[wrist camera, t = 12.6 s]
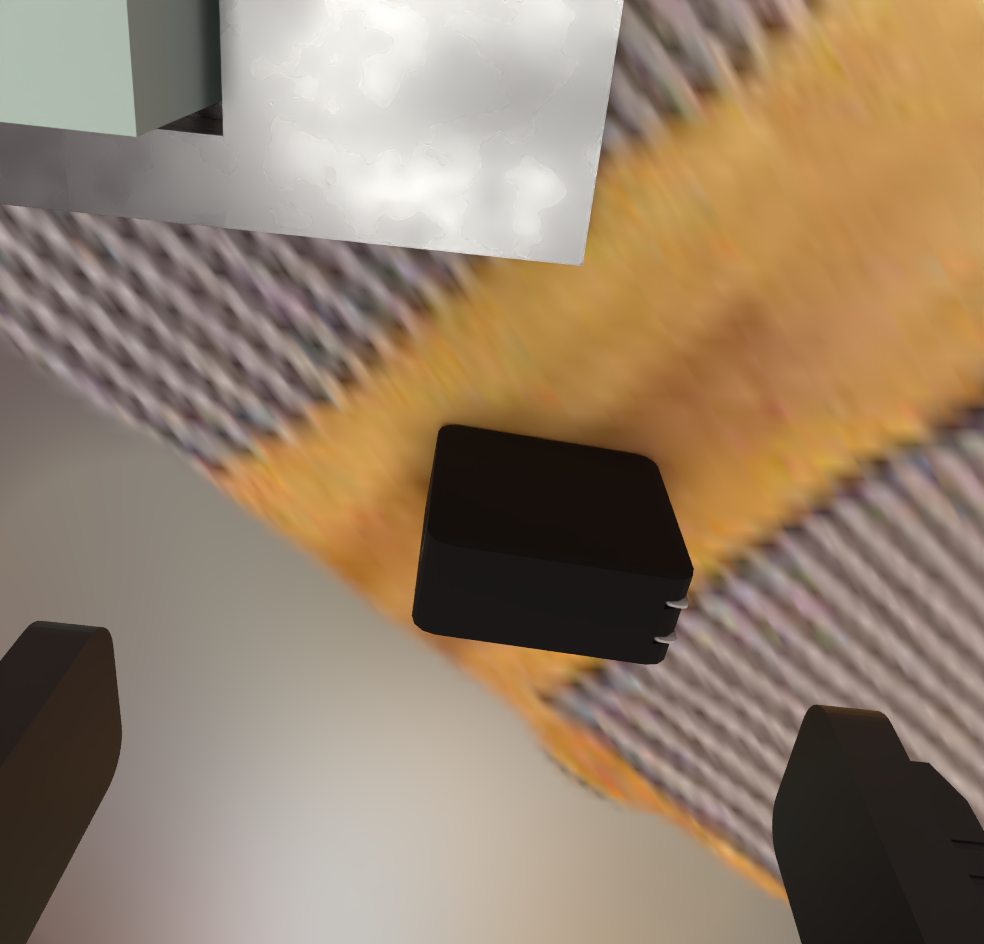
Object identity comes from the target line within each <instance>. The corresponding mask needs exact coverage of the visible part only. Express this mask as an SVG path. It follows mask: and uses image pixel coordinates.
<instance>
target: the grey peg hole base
mask: <svg viewBox="0 0 984 944" xmlns="http://www.w3.org/2000/svg"><path fill="white" fill-rule="evenodd" d="M623 3H624V0H219V11H220V44H221V77H222V110H223V120H215V119H206V118H197V117H188V116H185V117H183V118H180V119H178V120H175V121H173V122H171V123H168V124H166V125H164V126H161V127H159V128H156V129H154V130H152V131H149V132H147V133H145V134H142V135H140V136H138V137H133V136H124V135H115V134H106V133H97V132H88V131H79V130H70V129H61V128H52V127H43V126H34V125H25V124H15V123H6V122H0V204H5V205H14V206H24V207H33V208H42V209H52V210H61V211H71V212H80V213H89V214H99V215H108V216H118V217H127V218H136V219H146V220H155V221H165V222H174V223H183V224H193V225H202V226H212V227H221V228H231V229H240V230H249V231H259V232H268V233H278V234H287V235H296V236H306V237H315V238H325V239H334V240H343V241H353V242H362V243H372V244H381V245H390V246H400V247H409V248H419V249H428V250H437V251H447V252H456V253H466V254H475V255H484V256H494V257H503V258H513V259H522V260H531V261H541V262H550V263H560V264H569V265H579V266H582V265H583V259H584V253H585V246H586V240H587V233H588V227H589V221H590V214H591V208H592V201H593V195H594V189H595V182H596V176H597V169H598V163H599V156H600V150H601V144H602V137H603V131H604V124H605V118H606V112H607V105H608V99H609V92H610V86H611V80H612V73H613V67H614V60H615V54H616V47H617V41H618V35H619V28H620V22H621V15H622V9H623Z"/></svg>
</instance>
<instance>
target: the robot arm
mask: <svg viewBox="0 0 984 944" xmlns="http://www.w3.org/2000/svg"><path fill="white" fill-rule="evenodd" d="M121 741H122V725H121V716H120V706H119V698H118V688H117V678H116V668H115V659H114V649H113V642H112V637H111V634H110V632H109V631H108V630H107V629H106V628H104V627H95V626H85V625H76V624H66V623H57V622H47V621H36V622H34V623H32V624H31V625H29V626H28V627H27V629H25V631H24V632H23V633H22V634H21V636H20V637H19V638H18V639H17V641H16V642H15V643H14V644H13V646H12V647H11V648H10V649H9V651H8V652H7V653H6V654H5V656H4V657H3V658H2V659H1V661H0V944H26V943H27V941H28V939H29V937H30V935H31V933H32V931H33V929H34V928H35V925H36V924H37V922H38V920H39V918H40V916H41V914H42V912H43V910H44V909H45V907H46V905H47V903H48V901H49V899H50V897H51V895H52V893H53V892H54V890H55V888H56V886H57V884H58V882H59V880H60V878H61V877H62V875H63V873H64V871H65V869H66V867H67V865H68V863H69V861H70V860H71V858H72V856H73V854H74V852H75V850H76V848H77V846H78V844H79V843H80V841H81V839H82V836H83V835H84V833H85V831H86V829H87V827H88V825H89V824H90V822H91V820H92V818H93V816H94V814H95V812H96V810H97V809H98V807H99V805H100V803H101V801H102V799H103V797H104V795H105V793H106V791H107V790H108V788H109V786H110V783H111V781H112V779H113V776H114V773H115V770H116V767H117V763H118V759H119V755H120V749H121ZM772 833H773V844H774V850H775V855H776V859H777V862H778V866H779V869H780V872H781V876H782V879H783V882H784V886H785V889H786V892H787V896H788V899H789V903H790V906H791V909H792V913H793V916H794V919H795V923H796V926H797V930H798V933H799V936H800V940H801V943H802V944H984V830H983V828H982V827H981V825H980V823H979V821H978V819H977V818H976V816H975V814H974V812H973V810H972V809H971V807H970V805H969V803H968V801H967V800H966V799H965V798H964V797H963V796H962V795H961V794H960V793H959V792H958V791H957V790H956V789H955V788H954V787H953V786H952V785H951V784H950V783H949V782H948V781H947V780H946V779H945V778H944V777H943V776H942V775H941V774H940V773H939V772H937V771H936V770H935V769H934V768H933V767H932V766H931V765H930V764H929V763H925V762H915V761H910V759H909V757H908V755H907V753H906V751H905V749H904V747H903V745H902V743H901V741H900V740H899V738H898V736H897V734H896V732H895V730H894V728H893V726H892V724H891V722H890V721H889V719H888V718H887V717H886V715H885V714H883V713H882V712H879V711H872V710H863V709H853V708H844V707H834V706H825V705H813V706H811V707H810V708H809V709H808V711H807V712H806V714H805V716H804V719H803V721H802V724H801V727H800V730H799V733H798V736H797V739H796V741H795V744H794V747H793V750H792V753H791V756H790V759H789V761H788V764H787V767H786V770H785V773H784V776H783V779H782V782H781V784H780V787H779V790H778V793H777V796H776V799H775V804H774V809H773V820H772Z"/></svg>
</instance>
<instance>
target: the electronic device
mask: <svg viewBox="0 0 984 944" xmlns="http://www.w3.org/2000/svg"><path fill="white" fill-rule="evenodd" d="M693 570H694V568H693V566H692V563H691V560H690V557H689V554H688V551H687V548H686V546H685V543H684V540H683V537H682V534H681V531H680V528H679V526H678V523H677V520H676V517H675V514H674V511H673V508H672V505H671V503H670V500H669V497H668V494H667V491H666V488H665V485H664V483H663V480H662V477H661V474H660V471H659V468H658V466H657V465H656V464H655V463H654V462H653V461H652V460H650V459H648V458H646V457H643V456H640V455H636V454H631V453H625V452H618V451H612V450H606V449H600V448H594V447H588V446H582V445H576V444H569V443H563V442H557V441H551V440H545V439H539V438H533V437H526V436H520V435H514V434H508V433H502V432H496V431H490V430H483V429H477V428H471V427H465V426H456V425H449V426H445V427H442V428H441V429H440V430H439V431H438V437H437V443H436V449H435V455H434V461H433V467H432V473H431V478H430V484H429V490H428V496H427V502H426V508H425V516H424V524H423V532H422V540H421V548H420V556H419V564H418V572H417V580H416V588H415V596H414V604H413V612H412V617H413V621H414V624H415V625H417V626H418V627H419V628H420V629H421V630H423V631H426V632H429V633H432V634H435V635H442V636H449V637H456V638H463V639H470V640H477V641H484V642H491V643H498V644H505V645H512V646H519V647H526V648H533V649H540V650H547V651H554V652H561V653H568V654H575V655H582V656H589V657H596V658H603V659H610V660H617V661H624V662H631V663H638V664H645V665H646V664H658V663H659V662H661V661H662V660H664V658H665V655H666V652H667V649H668V646H669V644H674V643H675V642H676V634H675V631H674V629H675V626H676V623H677V620H678V617H679V614H680V611H681V608H687V607H688V604H689V602H688V599H687V596H686V594H687V591H688V588H689V585H690V582H691V579H692V577H693Z"/></svg>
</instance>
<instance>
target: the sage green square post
mask: <svg viewBox="0 0 984 944" xmlns="http://www.w3.org/2000/svg"><path fill="white" fill-rule="evenodd" d="M221 101H222V77H221V44H220V11H219V0H0V122H6V123H15V124H25V125H34V126H43V127H52V128H61V129H70V130H79V131H88V132H97V133H106V134H115V135H124V136H133V137H138V136H140V135H142V134H145V133H147V132H149V131H152V130H154V129H156V128H159V127H161V126H164V125H166V124H168V123H171V122H173V121H175V120H178V119H180V118H183V117H185V116H187V115H190V114H192V113H194V112H197V111H199V110H202V109H204V108H206V107H209V106H211V105H213V104H216V103H218V102H221Z"/></svg>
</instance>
